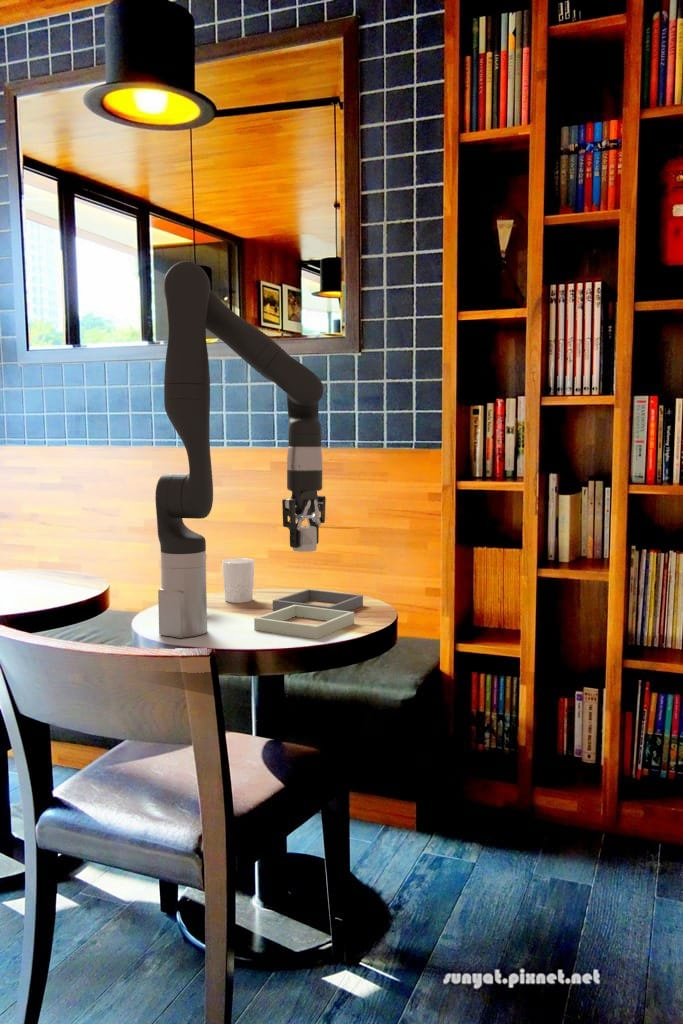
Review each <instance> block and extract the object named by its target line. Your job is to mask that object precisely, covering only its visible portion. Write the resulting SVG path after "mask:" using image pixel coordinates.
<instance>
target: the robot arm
mask: <svg viewBox="0 0 683 1024" xmlns="http://www.w3.org/2000/svg"><path fill="white" fill-rule="evenodd" d="M163 292H164V293H163V294H164V297H165V300H166V301H165V302H166V310H167V320H168V323H167V324H168V335H167V344H166V345H167V346H166V352H165V354H166V355H165V363H164V379H163V384H164V385H163V394H164V395H163V402H164V403H163V404H164V405H163V406H164V410H165V413H166V415H167V417H168V419H169V422H170V423H171V425H172V427H173V429H174V430H175V432H176V433H177V434H178V437H179V438H180V440H181V441H182V444H183V445H184V447H185V450H186V454H187V460H188V468H189V469H188V470H189V473H170V472H169V473H164V474H162V475H161V476H160V477H159V479H158V481H157V483H156V488H155V499H154V500H155V512H156V513H155V514H156V523H157V524H156V527H157V538H158V542H159V545H160V574H161V575H160V580H161V581H160V582H161V583H160V584H161V588H159V589H158V590H157V594H158V595H157V596H158V597H157V598H158V599H157V600H158V601H157V602H158V605H157V606H158V635H159V636H166V637H173V638H178V639H183V638H190V637H191V638H192V637H196V636H197V637H198V636H201V635H204V634H206V633H207V632H208V611H207V609H208V607H207V606H208V604H207V558H206V556H207V544H206V543H207V542H206V538H205V537H204V536H203V535H202V534H199V533H198V532H195V531H193V530H192V529H190V528H189V527H187V525H185V523H184V520H183V519H190V520H191V519H195V520H196V519H199V520H200V519H201V520H202V519H205V518H207V517H208V516H209V514H211V511H212V508H213V504H214V503H213V502H214V482H213V471H212V469H213V468H212V458H211V443H210V442H211V440H210V439H211V438H210V432H211V431H210V421H211V420H210V418H211V417H210V416H211V415H210V414H211V413H210V411H211V410H210V409H211V375H210V361H209V353H208V352H209V351H208V346H207V331H206V330H208V331H209V332H211V333H212V334H213V335H214V336H215V337H217V338H218V339H219V340H220V341H222V342H223V343H224V344H226V345H227V347H229V348H230V349H231V350H232V351H233V352H235V353H236V354H237V355H238V356H239V357H240V358H241V359H243V360H244V362H245V363H247V364H248V365H249V366H250V367H252V369H254V370H255V371H256V372H257V373H259V374H260V375H261V376H262V377H264V378H265V379H266V380H268V381H271V382H273V383H274V384H276V386H277V387H279V388H280V389H281V390H283V391H284V392H285V394H286V404H287V405H286V406H287V416H288V429H287V430H288V431H287V432H288V433H287V435H288V436H287V437H288V438H287V439H288V440H287V441H288V442H287V444H288V448H287V456H286V489H287V490H288V491H290V492H291V495H290V496H291V497H290V498H283V499H282V502H281V503H282V505H281V506H282V507H281V508H282V525H283V528H286V529H288V530H289V547H290V548H292V549H293V548H299V547H300V537H301V530H300V528H301V526H302V524H303V522H304V521H305V520H307V524H308V526H314V527H316V529H317V545H318V544H319V541H320V540H319V538H320V537H319V536H320V535H319V534H320V530H319V528H320V527H321V524H324V523H325V521H326V501H327V498H326V495H318V492H320V491H322V489H323V452H322V425H321V422H320V420H319V402H320V401H321V400H322V398H323V395H324V384H323V381H322V380H321V379H320V378H319V377H318V376H317V374H316V373H314V371H313V370H310V368H308V367H306V366H305V365H304V364H302V363H301V362H300V361H298V360H296V359H295V358H293V357H292V356H291V355H290V354H288V353H287V352H286V350H284V349H283V348H282V346H280V345H279V344H278V343H276V342H275V341H274V340H273V339H272V338H271V337H270V336H269V335H267V334H266V333H264V331H262V330H260V329H259V328H258V327H256V326H255V325H253V324H251V322H248V321H247V320H245V319H243V318H242V317H241V316H240V315H237V313H235V312H234V311H233V310H231V309H230V308H229V306H227V305H226V304H225V303H223V302H222V300H221V299H220V298H219V297H218V296H217V295H216V293H214V292H213V290H212V289H211V281H210V278H209V276H208V275H207V272H206V271H205V269H203V268H202V267H201V266H200V265H199V264H197V263H195V262H193V261H191V260H190V261H189V260H184V261H183V260H182V261H179V262H177V263H175V264H173V265H172V266H171V267H170V269H169V270H167V272H166V273H165V276H164V279H163Z"/></svg>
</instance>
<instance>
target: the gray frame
mask: <svg viewBox="0 0 683 1024" xmlns="http://www.w3.org/2000/svg"><path fill="white" fill-rule="evenodd" d="M307 600H308V601H314V600H315V602H316V601H317V602H323V603H331V604H332V605H329V606H327V605H320V604H319V605H318V604H311V603H305V602H307ZM304 601H305V602H304ZM300 602H302V603H300ZM292 605H301V606H309V607H317V608H325V609H333V610H341V611H349V612H352V611H353V610H355V609H358V608H360V607H363V606H364V595H361V594H353V593H346V592H337V591H336V592H335V591H327V590H326V591H325V590H317V589H309V588H308V589H304V590H301V591H298V592H295V593H292V594H288V595H285V596H281V597H279V598H276V599H273V600H272V612H274V611H277V610H280V609H283V608H286V607H289V606H292Z"/></svg>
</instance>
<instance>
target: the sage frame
mask: <svg viewBox="0 0 683 1024" xmlns="http://www.w3.org/2000/svg"><path fill="white" fill-rule="evenodd" d="M295 616H297V617H296V618H303V617H304V618H305V619H311V620H319V621H324V622H322V623H319V624H316V625H313V624H305V623H298V622H292V621H287V620H289V619H292V617H293V618H295ZM304 618H303V619H304ZM284 620H285V621H284ZM253 621H254V622H253V623H254V629H253V630H254V631H259V630H260V631H262V632H266V633H274V634H281V635H287V636H294V637H300V638H307V639H315V640H318V639H320V638H322V637H323V638H324V637H326V636H328V635H331V634H333V633H334V632H338V631H340V630H342V629H345V628H346V627H349V626H351V625H355V612H354V611H341V610H333V609H325V608H317V607H309V606H301V605H292V606H289V607H286V608H283V609H280V610H277V611H271V612H269V613H266V614H262V615H260V616H256V617H253Z"/></svg>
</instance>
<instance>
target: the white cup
mask: <svg viewBox="0 0 683 1024" xmlns="http://www.w3.org/2000/svg"><path fill="white" fill-rule="evenodd" d="M221 565H222V577H223V579H222V580H223V590H224V599H225V600H224V601H225V602H227V603H234V604H237V603H238V604H242V603H243V602H244V603H249V601H250V602H252V600H253V594H254V593H253V592H254V591H253V590H254V581H255V559H252V558H246V557H241V558H239V557H237V558H226V559H223V560H222V563H221Z"/></svg>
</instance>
